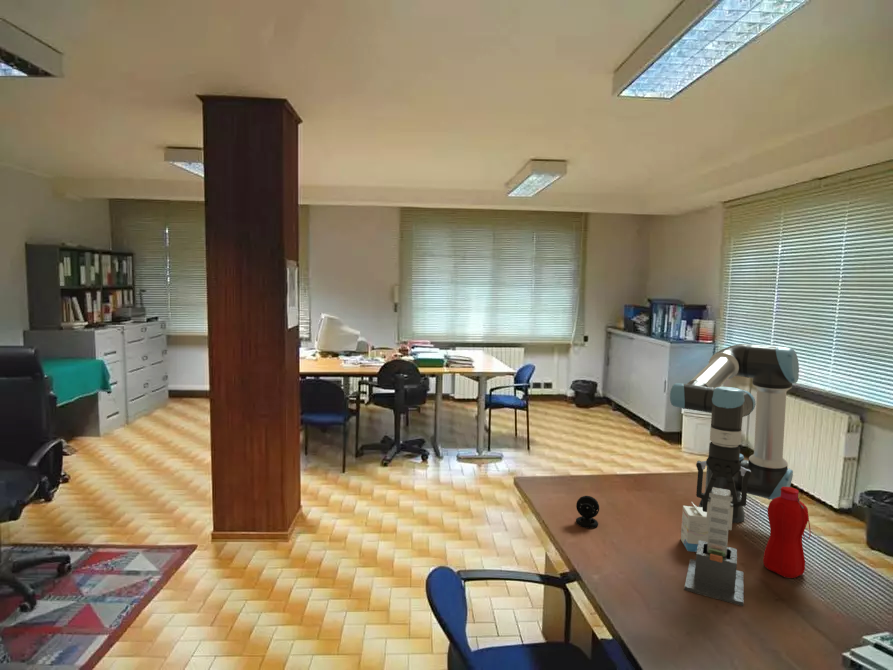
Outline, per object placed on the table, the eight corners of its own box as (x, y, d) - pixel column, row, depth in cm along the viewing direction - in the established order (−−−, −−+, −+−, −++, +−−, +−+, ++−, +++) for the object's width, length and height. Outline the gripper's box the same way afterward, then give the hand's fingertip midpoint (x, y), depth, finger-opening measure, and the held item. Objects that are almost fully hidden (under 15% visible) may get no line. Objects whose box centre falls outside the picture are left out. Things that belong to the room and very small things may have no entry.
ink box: (715, 554, 164) (718, 512, 163) (686, 551, 165) (689, 509, 164) (707, 542, 172) (710, 502, 171) (680, 539, 174) (682, 499, 173)
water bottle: (796, 585, 147) (804, 498, 145) (758, 566, 157) (764, 485, 155) (815, 577, 152) (822, 493, 150) (776, 560, 161) (783, 481, 159)
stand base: (690, 561, 158) (692, 529, 158) (743, 575, 152) (745, 541, 151) (684, 589, 143) (686, 554, 142) (743, 606, 136) (746, 569, 135)
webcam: (573, 526, 181) (575, 497, 180) (576, 517, 188) (578, 490, 187) (597, 530, 178) (598, 501, 177) (599, 522, 185) (601, 494, 184)
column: (705, 551, 151) (710, 486, 149) (727, 557, 148) (732, 490, 146) (704, 560, 146) (709, 492, 144) (727, 565, 143) (732, 497, 141)
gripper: (688, 441, 145) (682, 522, 147) (763, 452, 137) (756, 539, 138) (690, 435, 152) (685, 513, 154) (762, 445, 143) (755, 528, 145)
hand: (718, 525), depth 146 cm, fingers closed on column, 5 cm apart
